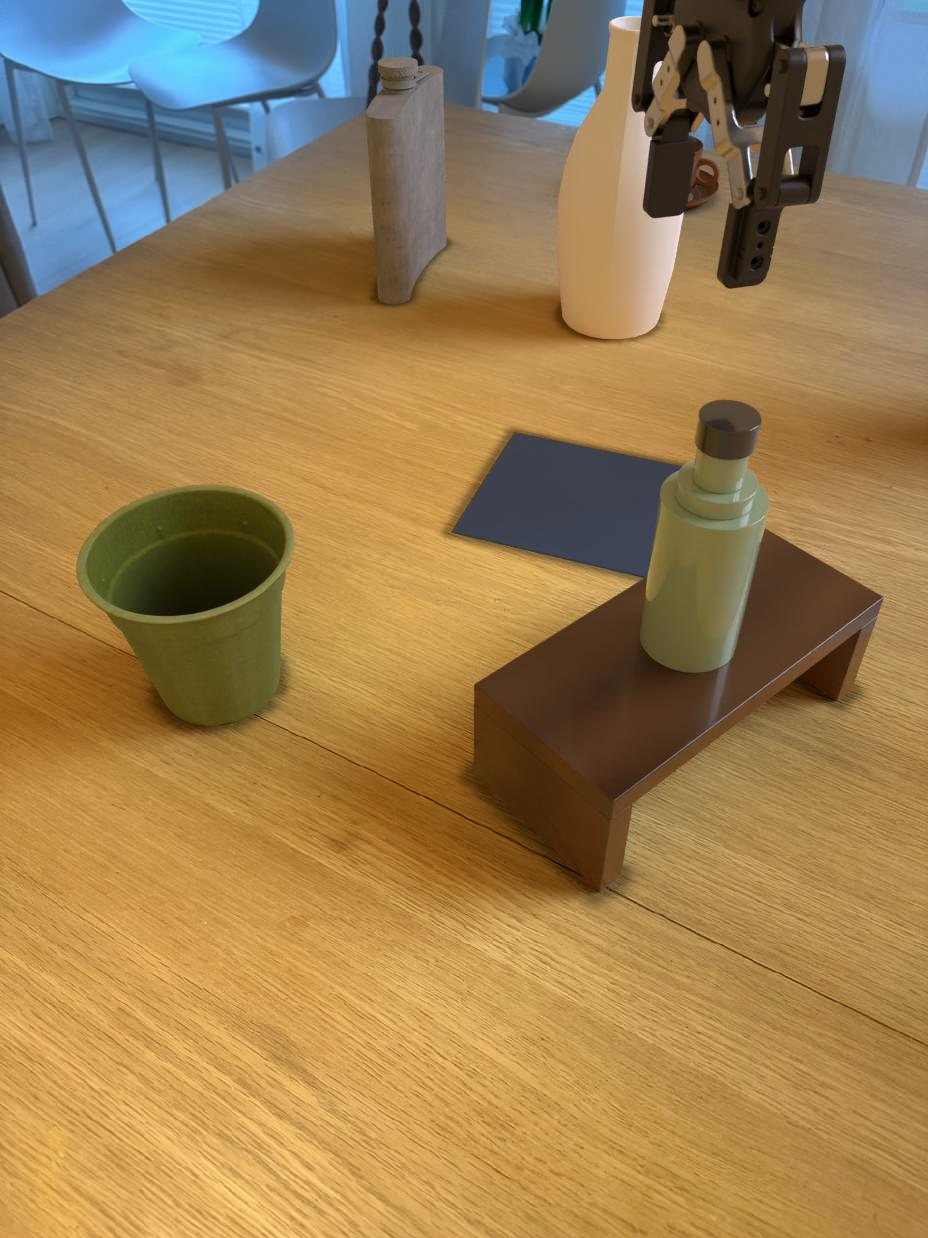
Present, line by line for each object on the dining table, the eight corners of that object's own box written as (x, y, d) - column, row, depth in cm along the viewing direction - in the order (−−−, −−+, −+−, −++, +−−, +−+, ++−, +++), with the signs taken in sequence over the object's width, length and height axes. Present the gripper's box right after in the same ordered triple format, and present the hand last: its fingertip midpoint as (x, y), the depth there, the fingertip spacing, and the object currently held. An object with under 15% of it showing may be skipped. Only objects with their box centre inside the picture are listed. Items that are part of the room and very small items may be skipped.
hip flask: (405, 309, 102) (393, 88, 89) (365, 305, 103) (348, 84, 89) (450, 243, 113) (446, 37, 100) (414, 239, 114) (405, 34, 101)
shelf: (473, 780, 60) (473, 684, 55) (723, 610, 70) (743, 515, 65) (599, 897, 54) (613, 802, 49) (850, 693, 65) (885, 596, 59)
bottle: (586, 359, 95) (611, 49, 78) (531, 307, 102) (542, 13, 85) (691, 334, 98) (737, 31, 81) (630, 285, 106) (660, -2, 88)
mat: (709, 476, 82) (710, 471, 81) (668, 588, 72) (669, 582, 72) (514, 436, 86) (514, 431, 86) (451, 537, 76) (451, 531, 76)
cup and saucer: (718, 183, 125) (727, 129, 121) (713, 223, 117) (722, 166, 112) (618, 175, 127) (623, 122, 123) (605, 214, 119) (609, 158, 114)
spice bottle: (744, 619, 58) (797, 397, 48) (726, 683, 54) (779, 457, 45) (651, 597, 59) (685, 377, 50) (628, 658, 56) (660, 434, 46)
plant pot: (157, 617, 70) (118, 478, 63) (332, 628, 69) (314, 489, 62) (94, 753, 62) (40, 612, 54) (292, 769, 61) (266, 627, 53)
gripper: (961, -139, 36) (844, 301, 47) (763, -185, 46) (705, 187, 57) (766, -131, 35) (692, 322, 46) (605, -181, 45) (576, 201, 56)
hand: (699, 246), depth 52 cm, fingers open, 8 cm apart
